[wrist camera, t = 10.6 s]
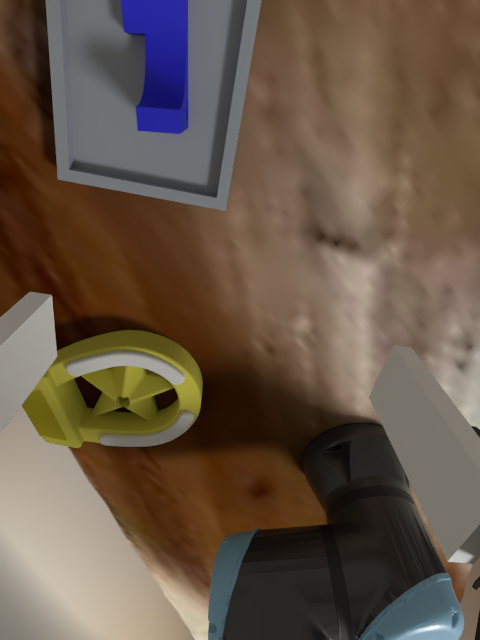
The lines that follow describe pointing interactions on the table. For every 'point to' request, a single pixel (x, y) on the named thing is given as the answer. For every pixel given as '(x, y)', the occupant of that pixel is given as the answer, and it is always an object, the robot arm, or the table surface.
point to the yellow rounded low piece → (117, 391)
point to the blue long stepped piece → (161, 62)
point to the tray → (126, 92)
